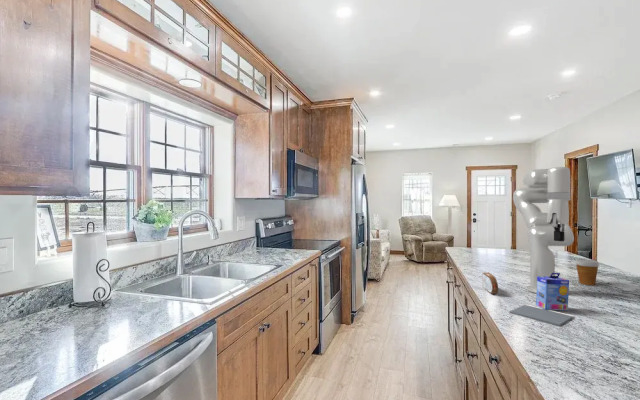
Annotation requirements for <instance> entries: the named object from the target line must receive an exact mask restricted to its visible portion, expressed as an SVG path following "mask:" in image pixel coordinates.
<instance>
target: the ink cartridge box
mask: <svg viewBox="0 0 640 400" xmlns="http://www.w3.org/2000/svg"><path fill="white" fill-rule="evenodd" d="M554 274H555V276H552V275H554ZM560 275H561V272H555V273H551V275H550V277H547V276H537V293H536V297H535V298H536V299H535V302H536V303H535V305H536V306H535V307H539V308H543V309H545V310H552V311H568V310H569V295H570V294H569V293H570V292H569V291H570V280H569V279H566V278H563V277H560Z"/></svg>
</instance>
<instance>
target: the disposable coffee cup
mask: <svg viewBox="0 0 640 400" xmlns="http://www.w3.org/2000/svg"><path fill="white" fill-rule="evenodd" d="M574 263H575V264H576V270H577V277H578V282H579V284H580V283H581V284H582V285H584V284H585V285H584V286H596V283H597V276H598V268H599V266H600V264H599V262H598V261H596V260H592V259H575V262H574Z"/></svg>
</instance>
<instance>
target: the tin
mask: <svg viewBox="0 0 640 400" xmlns="http://www.w3.org/2000/svg"><path fill="white" fill-rule="evenodd" d="M481 278H482V286H483V288H484V290H485V291H487V292H488V293H489V294H491V295H497V294H498V292H499V285H498V280H497V278H496V276H494V275H493V274H492V273H491V272H490V271H489V272H483V273H482V275H481Z"/></svg>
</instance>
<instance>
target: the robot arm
mask: <svg viewBox="0 0 640 400" xmlns="http://www.w3.org/2000/svg"><path fill="white" fill-rule="evenodd" d="M522 182H523V185H525V186H526V187H519V188H518V189H515V191H514V192H513V194H512V201H513V204H514V206H515V208H516V209H517V210H518V212H519V213H520V214H521V215H522V218H523V220H524V222H525V225H526V227H527V228H528V231H527V238H528V243H529V256H530V257H529V259H530V260H529V264H530V265H529V266H530V270H529V271H530V272H529V273H530V276H529V277H530V280H529V281H530V285H528V286H526V290H527V292H529V293H530V292H531V293H534V294H537V276H547V277H550V275H551V273H556V272H555V269H556V268H555V266H556V265H555V263H556V261H555V260H556V259H555V255H554V252H553V251H552V250H551V249H550V248H549V247H569V246H572V244H573V243H574V242H575V237H574V233H573V229H571V226H570V225H569V222H570V221H569V220H570V214H569V213H570V211H569V201H571V170H570V168H569V167H568V166H567V167H566V166H558V167H557V166H556V167H551V168H536V169H531V170H530V169H529V170H527V171H526V173H525V175H524V177H523V179H522ZM536 204H547V212H542V210H541V208H540V207H538V206H537V205H536ZM552 276H556V274H554V275H552Z"/></svg>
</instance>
